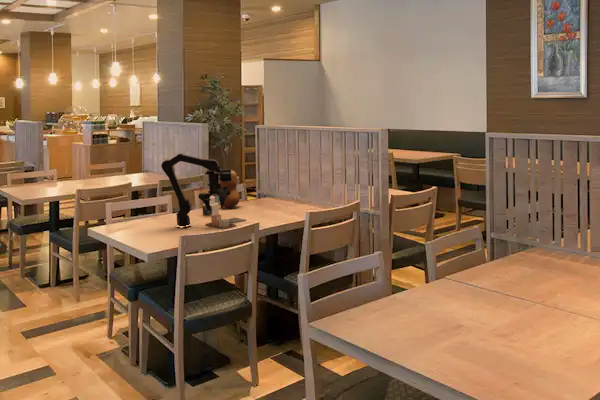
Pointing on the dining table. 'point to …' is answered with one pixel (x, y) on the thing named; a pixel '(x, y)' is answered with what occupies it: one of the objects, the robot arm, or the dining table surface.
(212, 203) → the medicine bottle
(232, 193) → the butternut squash
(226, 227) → the caddy
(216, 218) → the terracotta block
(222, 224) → the grey block
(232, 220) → the slate pad
